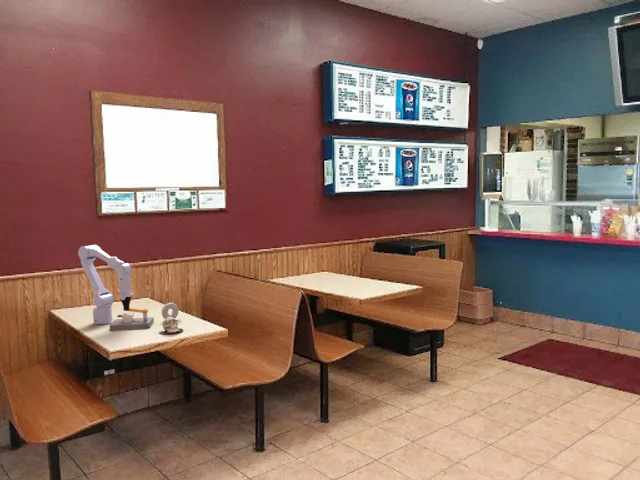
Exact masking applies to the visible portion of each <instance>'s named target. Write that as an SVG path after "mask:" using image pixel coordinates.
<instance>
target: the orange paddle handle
mask: <svg viewBox="0 0 640 480" xmlns="http://www.w3.org/2000/svg"><path fill="white" fill-rule="evenodd" d="M122 309H123V312H125V311H124V307H123V308H122ZM128 312H130V313H141V314H143V313H147V314H148V312H149V310H148V308H140V307H130V306H129V311H128Z"/></svg>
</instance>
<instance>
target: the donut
mask: <svg viewBox="0 0 640 480" xmlns="http://www.w3.org/2000/svg"><path fill="white" fill-rule="evenodd" d="M169 310H171V311H172V312H171V314H169ZM179 312H180V311H179V307H178V305H177V304H176V303H174V302H168V303H166V304H165V305H163V306H162V309H161V317H162V318H163V319H164V320H165V319H166V318H167V317H173V318H174V319H176V318H177V317H178V315H179Z"/></svg>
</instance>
